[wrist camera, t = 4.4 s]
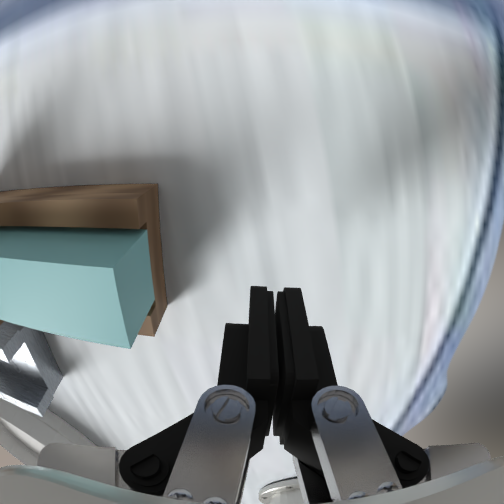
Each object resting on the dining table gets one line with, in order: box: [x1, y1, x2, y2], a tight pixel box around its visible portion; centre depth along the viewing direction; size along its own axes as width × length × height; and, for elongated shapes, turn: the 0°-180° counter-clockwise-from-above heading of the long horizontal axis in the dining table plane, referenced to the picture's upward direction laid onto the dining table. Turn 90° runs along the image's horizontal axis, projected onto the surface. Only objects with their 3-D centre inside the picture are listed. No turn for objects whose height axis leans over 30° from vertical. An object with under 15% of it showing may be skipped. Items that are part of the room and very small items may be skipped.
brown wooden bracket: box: [0, 184, 167, 336], centre depth 13 cm, size 14×8×8 cm, turn 87°
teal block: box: [0, 226, 155, 349], centre depth 13 cm, size 12×4×4 cm, turn 87°
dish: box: [0, 398, 96, 466], centre depth 28 cm, size 22×22×5 cm
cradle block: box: [0, 321, 63, 417], centre depth 19 cm, size 8×8×5 cm
